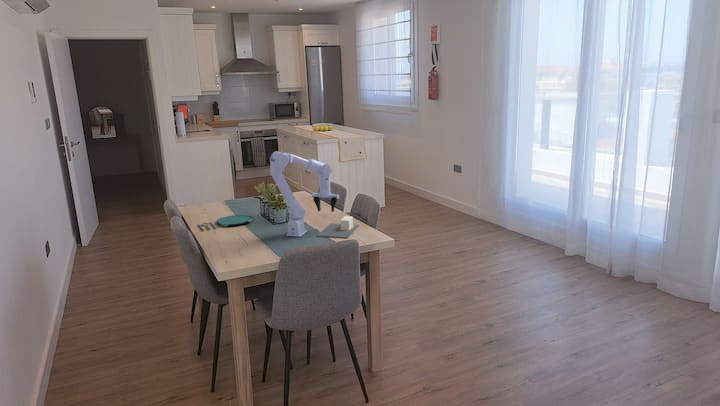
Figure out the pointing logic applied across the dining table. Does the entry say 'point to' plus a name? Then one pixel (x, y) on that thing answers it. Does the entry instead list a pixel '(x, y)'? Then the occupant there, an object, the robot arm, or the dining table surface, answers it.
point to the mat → (336, 231)
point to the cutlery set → (230, 221)
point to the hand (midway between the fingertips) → (326, 211)
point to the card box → (346, 222)
